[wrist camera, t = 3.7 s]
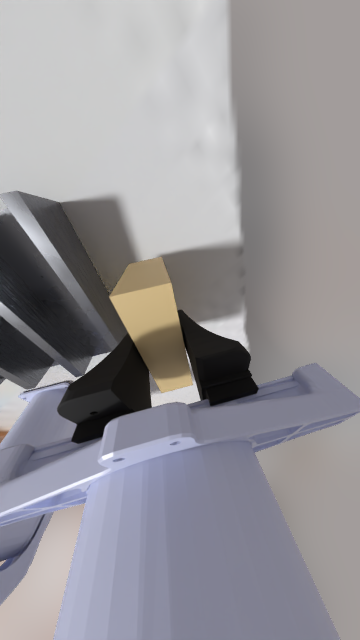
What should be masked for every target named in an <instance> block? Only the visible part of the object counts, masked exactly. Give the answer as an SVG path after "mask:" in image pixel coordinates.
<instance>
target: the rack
mask: <svg viewBox="0 0 360 640" xmlns="http://www.w3.org/2000/svg"><path fill="white" fill-rule="evenodd" d="M0 198H1V199H2V201H3V202H4V203H5V205H6V206H7V207H8V208H7V209H2V210H0V384H1V383H2V382H3V381H4V380H5V379H8V380H10V381H12V382H14V383H16V384H17V385H19V386H21V387H23V388H25V389H31V388H35V387H36V386H37V384H38V383H39V382H40V380H41V379H42V377H43V376H44V375H45V373H46V372H47V371H48V369H49V368H50V367H51V366H55V365H59V364H60V365H62V366H63V367H64V368H65V369H66V370H68V371H69V372H70V373H71V374H73V375H74V376H75V377H79V376H82V375H84V374H85V371H86V369H87V367H88V365H89V363H90V361H91V358H92V356H95V355H99V354H103V353H107V352H111V351H113V350H114V349H115V348H116V347H117V345H118V344H119V343H120V342H121V341H122V339H123V338H124V337H125V335H126V334H127V333H128V331H127V329H126V327H125V325H124V324H123V322H122V320H121V318H120V316H119V314H118V313H117V311H116V309H115V307H114V305H113V303H112V302H111V300H110V298H109V294H108V292H107V290H106V288H105V286H104V285H103V283H102V281H101V279H100V277H99V275H98V274H97V272H96V270H95V268H94V266H93V264H92V262H91V261H90V259H89V257H88V255H87V253H86V251H85V250H84V248H83V246H82V244H81V242H80V240H79V239H78V237H77V235H76V233H75V231H74V229H73V227H72V226H71V224H70V222H69V220H68V218H67V216H66V215H65V213H64V211H63V209H62V207H61V205H60V203H59V202H56V201H52V200H49V199H45V198H41V197H38V196H34V195H30V194H27V193H23V192H19V191H13V192H8V193H3V194H0Z"/></svg>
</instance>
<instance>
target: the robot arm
mask: <svg viewBox="0 0 360 640" xmlns="http://www.w3.org/2000/svg"><path fill="white" fill-rule="evenodd" d="M177 312H178V317H179V322H180V326H181V331H182V336H183V340H184V345H185V348H186V351H187V354H188V356H189V359H190V363H191V366H192V370H193V373H194V377H195V381H196V384H197V388H198V392H199V395H200V399H201V401H198V402H195V403H191V404H188V405H186V404H185V403H180V402H174V403H167V404H163V405H160V406H156V407H152V406H151V395H150V382H149V369H148V367H147V366H146V364H145V362H144V360H143V358H142V356H141V355H140V353H139V351H138V349H137V347H136V345H135V344H134V342H133V340H132V338H131V336H130V334H129V333H127V334H126V335H125V337H124V338H123V339H122V341H121V342H120V343H119V344H118V345H117V347H116V348H115V349H114V350H113V351H112V352H111V353H110V354H109V355H108V356H107V357H106V358H104V359H103V360H102V361H101V362H100V363H99V364H98V365H96V366H95V367H94V368H93V369H91V370H90V371H89V372H88V373H86V374H85V375H83V376H82V377H81V378H79V379H78V380H76V381H75V382H73V383H72V384H69V383H66V382H65V383H60V384H56V385H52V386H49V387H45V388H41V389H37V390H33V391H29V392H25V393H21V394H20V395H19V396H18V397H19V398H21V399H23V400H25V401H27V402H29V404H28V405H27V406H26V408H25V409H24V411H23V412H22V414H21V415H20V416H19V418H18V419H17V421H16V422H15V424H14V425H13V426H12V428H11V429H10V431H9V432H8V434H7V435H6V436H5V438H4V439H3V441H2V442H1V444H0V561H3V560H6V561H5V562H4V563H3V564H2V565H1V566H0V605H1V604H2V603H3V602H4V600H6V599H7V597H8V596H9V595H10V594H11V593H12V592H13V591H14V589H15V588H16V587H17V585H18V584H19V583H20V582H21V580H22V579H23V578H24V576H25V575H26V573H27V571H28V569H29V566H30V565H31V563H32V561H33V559H34V556H35V553H36V551H37V548H38V546H39V543H40V540H41V538H42V536H43V533H44V531H45V529H46V528H47V525H48V524H49V521H50V519H51V517H52V515H53V512H54V511H58V510H61V509H65V508H69V507H73V506H76V505H80V504H84V503H86V504H85V508H84V512H83V516H82V521H81V525H80V530H79V533H78V537H77V542H76V546H75V550H74V554H73V559H72V563H71V567H70V571H69V576H68V579H67V584H66V589H65V592H64V596H63V600H62V605H61V609H60V613H59V618H58V621H57V626H56V630H55V634H54V638H53V640H341V639H340V637H339V635H338V633H337V631H336V628H335V626H334V624H333V622H332V620H331V618H330V616H329V613H328V611H327V609H326V607H325V605H324V602H323V600H322V598H321V596H320V594H319V592H318V589H317V587H316V585H315V583H314V581H313V579H312V576H311V574H310V572H309V570H308V568H307V566H306V564H305V561H304V559H303V557H302V555H301V553H300V550H299V548H298V546H297V544H296V542H295V540H294V537H293V535H292V533H291V531H290V529H289V527H288V525H287V522H286V520H285V518H284V516H283V514H282V511H281V509H280V507H279V505H278V503H277V500H276V499H275V496H274V494H273V492H272V490H271V488H270V486H269V483H268V481H267V479H266V477H265V474H264V472H263V470H262V468H261V466H260V464H259V461H258V459H257V457H256V455H255V452H258V451H260V450H263V449H266V448H269V447H272V446H275V445H278V444H280V443H283V442H286V441H289V440H291V439H295V438H297V437H300V436H303V435H306V434H309V433H312V432H315V431H318V430H321V429H324V428H327V427H331V426H334V425H337V424H340V423H342V422H344V421H345V420H347V419H349V418H351V417H353V416H355V415H356V414H358V413H360V398H359V397H358V396H356V395H355V394H354V393H353V392H352V391H350V390H349V389H348V388H347V387H345V386H344V385H343V384H342V383H340V382H339V381H338V380H337V379H336V378H334V377H333V376H332V375H331V374H329V373H328V372H327V371H326V370H325V369H323V368H322V367H321V366H320V365H318V364H317V363H313V364H309V365H305V366H302V367H299V368H297V369H295V370H294V372H293V374H292V376H288V377H285V378H281V379H277V380H274V381H271V382H267V383H263V384H260V385H256V384H255V382H254V381H253V379H252V378H251V376H252V374H251V373H250V371H249V370H248V368H249V364H250V360H251V356H250V354H249V353H248V351H247V350H246V349H245V348H244V347H243V346H242V345H241V344H240V343H239V342H238V341H235V340H231V339H228V338H225V337H222V336H219V335H216V334H214V333H212V332H210V331H208V330H206V329H204V328H203V327H201V326H199V325H198V324H197V323H195V322H194V321H193V320H192V319H190V318H189V317H188V316H187V315H186V314H185V313H184V312H183V310H178V311H177Z"/></svg>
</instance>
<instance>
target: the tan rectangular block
mask: <svg viewBox="0 0 360 640" xmlns="http://www.w3.org/2000/svg"><path fill="white" fill-rule="evenodd" d="M109 298H110V300H111V302H112V303H113V305H114V307H115V309H116V311H117V313H118V314H119V316H120V318H121V320H122V322H123V324H124V325H125V327H126V329H127V331H128V333H129V334H130V336H131V338H132V340H133V342H134V344H135V345H136V347H137V349H138V351H139V353H140V355H141V356H142V358H143V360H144V362H145V364H146V366H147V367H148V369H149V371H150V373H151V375H152V376H153V378H154V380H155V382H156V384H157V386H158V387H159V389H160V391H161V393H164V392H168V391H172V390H175V389H179V388H183V387H186V386H190V385H193V383H192V378H191V373H190V369H189V364H188V359H187V355H186V350H185V345H184V340H183V336H182V331H181V326H180V322H179V317H178V312H177V307H176V303H175V298H174V293H173V288H172V284H171V281H170V278H169V275H168V273H167V270H166V267H165V265H164V262H163V259H162V257H158V258H154V259H149V260H144V261H140V262H135V263H131V264H129V265H128V266H127V268H126V270H125V271H124V273H123V275H122V276H121V278H120V280H119V281H118V283H117V285H116V286H115V288H114V290H113V291H112V293H111V295H110V296H109Z"/></svg>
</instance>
